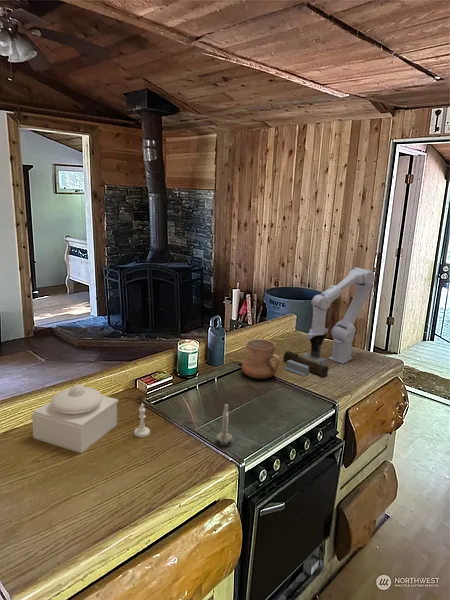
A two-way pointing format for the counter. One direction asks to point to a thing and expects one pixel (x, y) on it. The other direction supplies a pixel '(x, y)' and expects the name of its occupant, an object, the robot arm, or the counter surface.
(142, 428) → the chess piece
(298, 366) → the fixed jaw
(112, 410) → the butter dish
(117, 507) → the counter surface
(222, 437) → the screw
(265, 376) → the ceramic jug
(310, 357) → the free jaw
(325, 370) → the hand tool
